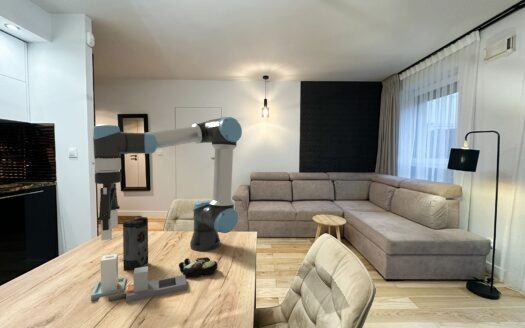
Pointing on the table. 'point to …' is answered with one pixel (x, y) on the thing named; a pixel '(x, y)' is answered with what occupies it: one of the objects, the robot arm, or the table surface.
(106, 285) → the charger
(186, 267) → the toy
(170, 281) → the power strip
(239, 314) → the table surface
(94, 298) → the tray
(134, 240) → the electronic device
